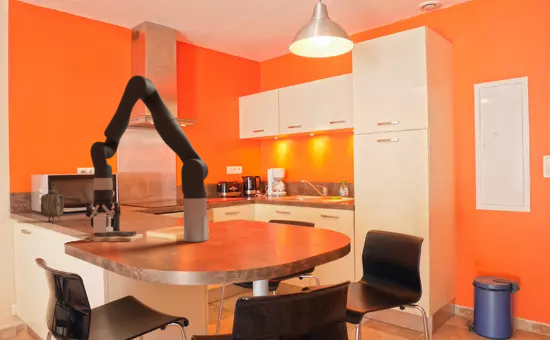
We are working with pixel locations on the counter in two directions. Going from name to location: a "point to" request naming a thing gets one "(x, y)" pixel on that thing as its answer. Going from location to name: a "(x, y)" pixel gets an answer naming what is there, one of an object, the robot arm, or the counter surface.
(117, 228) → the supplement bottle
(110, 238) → the ratchet board
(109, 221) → the grey block
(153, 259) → the counter surface
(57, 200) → the tabletop clock
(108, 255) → the counter surface
